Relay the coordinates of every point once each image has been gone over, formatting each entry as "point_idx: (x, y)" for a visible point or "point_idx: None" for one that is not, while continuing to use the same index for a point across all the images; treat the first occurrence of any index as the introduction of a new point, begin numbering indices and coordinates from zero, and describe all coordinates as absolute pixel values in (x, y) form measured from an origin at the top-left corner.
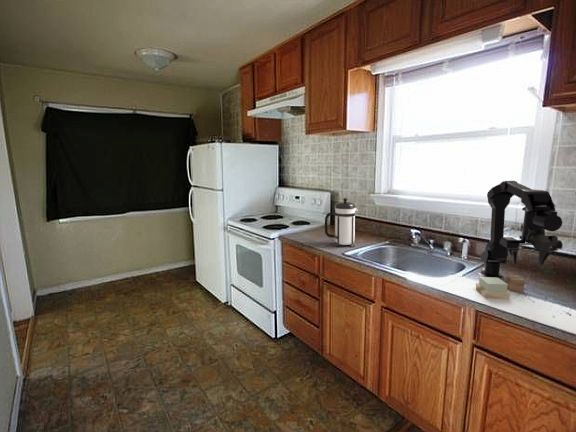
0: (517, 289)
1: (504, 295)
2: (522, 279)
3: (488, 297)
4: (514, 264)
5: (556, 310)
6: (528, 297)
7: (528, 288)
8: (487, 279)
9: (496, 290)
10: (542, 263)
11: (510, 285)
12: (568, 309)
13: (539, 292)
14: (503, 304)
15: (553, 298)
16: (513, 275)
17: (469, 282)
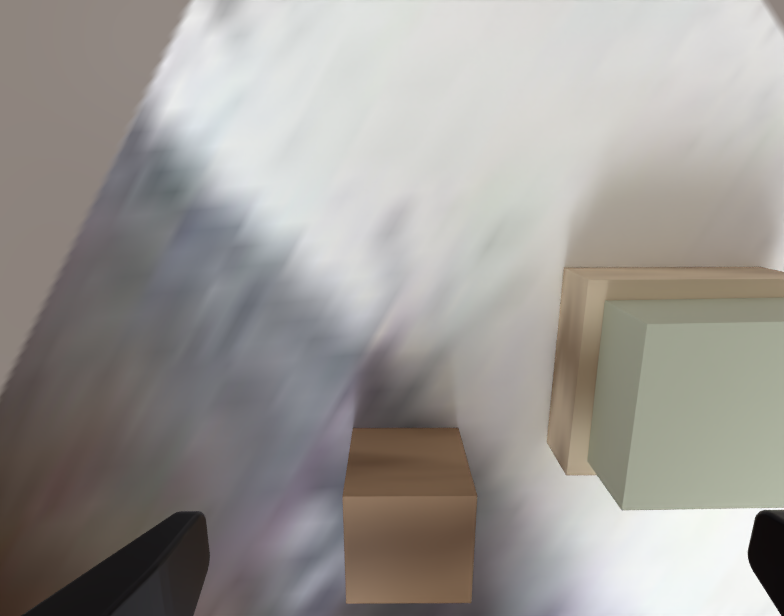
0: (402, 436)
1: (622, 272)
2: (362, 505)
3: (742, 267)
4: (780, 511)
5: (295, 47)
6: (382, 310)
7: (280, 487)
8: (780, 447)
9: (710, 301)
10: (159, 533)
11: (465, 460)
12: (177, 80)
13: (234, 417)
14: (691, 140)
15: (184, 307)
16: (390, 598)
17: (686, 564)
